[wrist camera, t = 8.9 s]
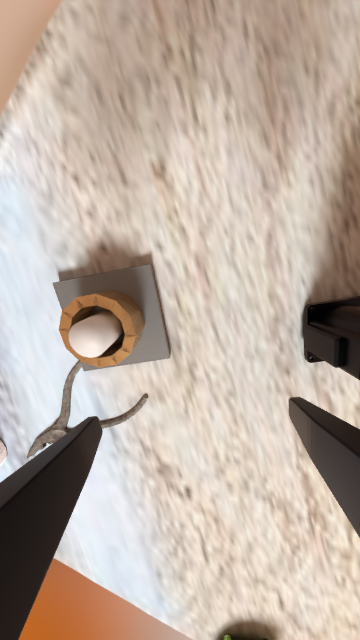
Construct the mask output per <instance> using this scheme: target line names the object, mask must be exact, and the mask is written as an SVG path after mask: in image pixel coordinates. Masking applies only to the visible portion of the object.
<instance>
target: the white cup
mask: <svg viewBox="0 0 360 640" xmlns="http://www.w3.org/2000/svg"><path fill="white" fill-rule="evenodd" d="M6 457H7V451H6V447H5V446H4V444H3V443H2V441H1V440H0V466H1V465H2V464H3V463H4V461H5V459H6Z"/></svg>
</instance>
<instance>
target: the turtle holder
mask: <svg viewBox="0 0 360 640" xmlns="http://www.w3.org/2000/svg"><path fill="white" fill-rule="evenodd" d="M224 640H231V636H230V635H229V634H226V635H225V636H224Z"/></svg>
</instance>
